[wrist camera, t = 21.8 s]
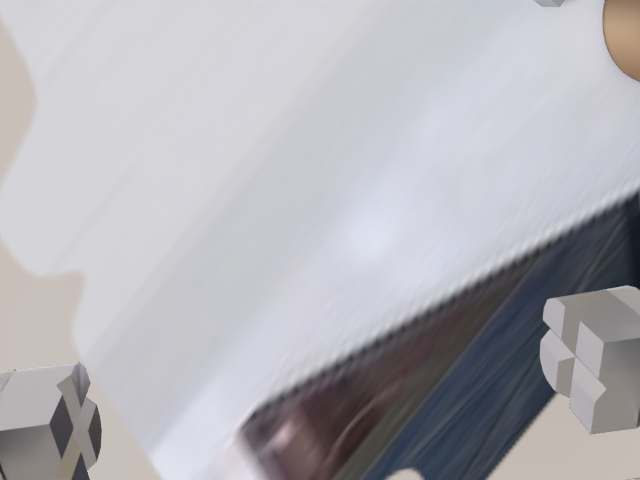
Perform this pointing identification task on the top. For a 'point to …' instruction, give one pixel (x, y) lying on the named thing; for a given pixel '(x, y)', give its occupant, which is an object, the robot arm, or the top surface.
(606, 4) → the walnut coaster
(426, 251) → the top surface
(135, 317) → the top surface
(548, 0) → the parts tray
